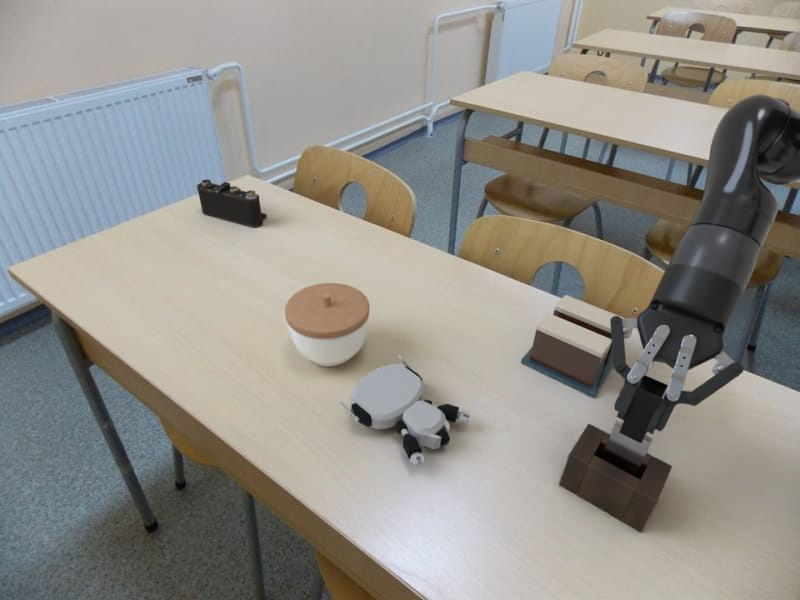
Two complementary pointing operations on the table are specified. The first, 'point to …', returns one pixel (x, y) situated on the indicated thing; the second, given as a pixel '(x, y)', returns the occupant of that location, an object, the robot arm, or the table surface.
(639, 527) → the brown rectangular frame
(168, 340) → the table surface
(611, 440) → the dark grey tall bar
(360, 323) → the lidded bowl
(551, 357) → the slotted fixture
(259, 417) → the table surface
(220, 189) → the camera
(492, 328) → the table surface
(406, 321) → the table surface
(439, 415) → the robot toy
